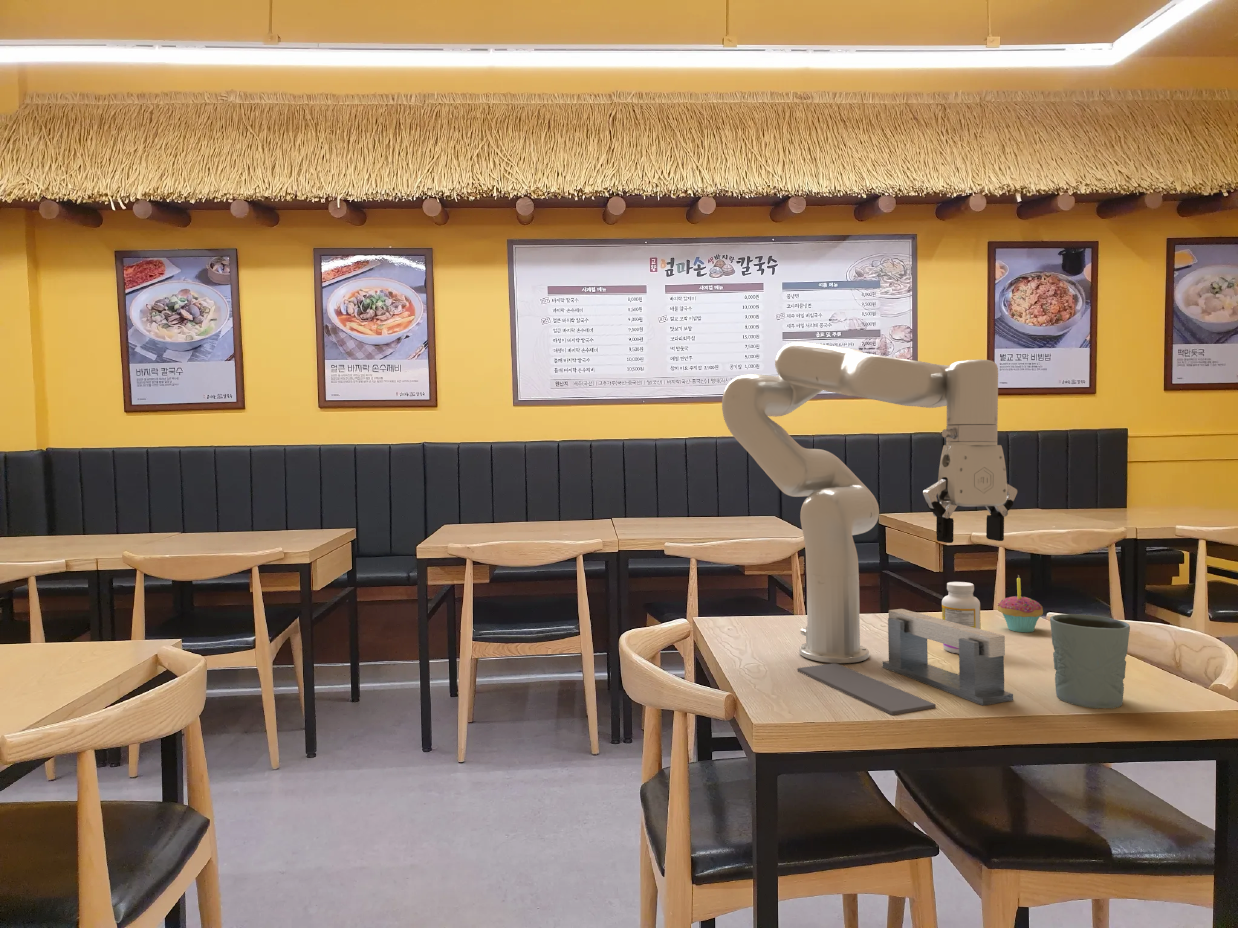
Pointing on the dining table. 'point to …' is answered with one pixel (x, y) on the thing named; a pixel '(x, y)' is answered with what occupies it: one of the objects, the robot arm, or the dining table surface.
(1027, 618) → the cupcake
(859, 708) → the dining table surface
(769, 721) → the dining table surface
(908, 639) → the rack
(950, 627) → the rail
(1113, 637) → the green planter pot
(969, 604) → the supplement bottle
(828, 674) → the mat
